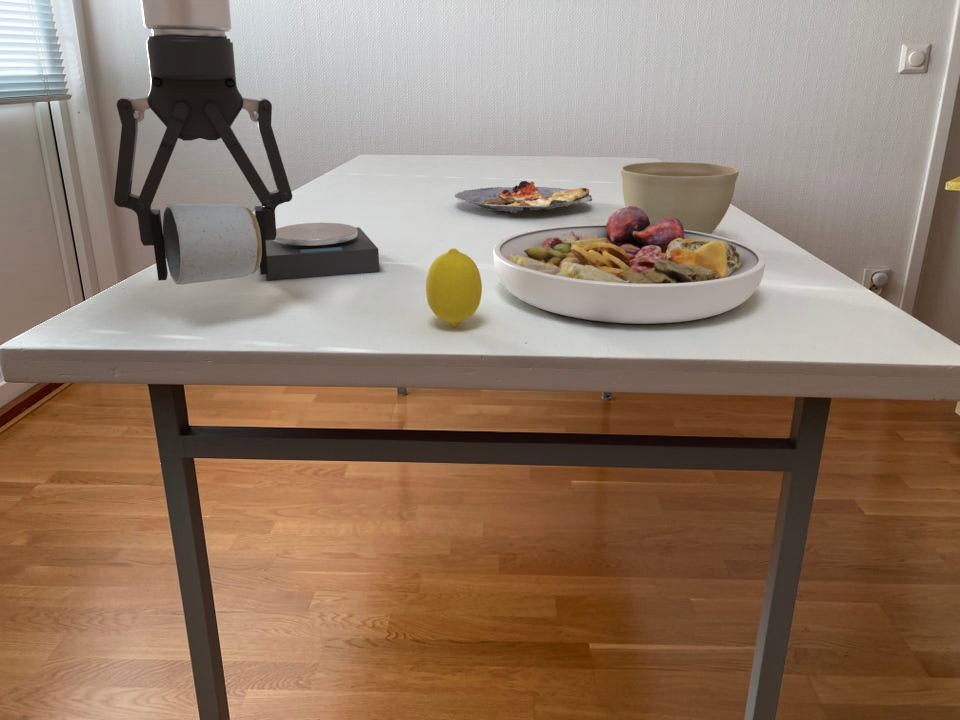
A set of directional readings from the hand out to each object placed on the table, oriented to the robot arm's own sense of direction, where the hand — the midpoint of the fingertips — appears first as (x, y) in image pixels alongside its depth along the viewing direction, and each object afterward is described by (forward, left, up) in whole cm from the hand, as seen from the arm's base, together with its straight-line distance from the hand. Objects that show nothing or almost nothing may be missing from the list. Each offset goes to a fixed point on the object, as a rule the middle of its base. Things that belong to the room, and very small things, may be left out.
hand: (214, 273), depth 79 cm
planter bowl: (+63, +17, -5) cm, 66 cm away
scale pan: (+12, +21, -1) cm, 24 cm away
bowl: (+44, -4, -5) cm, 45 cm away
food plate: (+53, +52, -5) cm, 75 cm away
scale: (+12, +21, -5) cm, 25 cm away
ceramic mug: (-1, 0, 0) cm, 1 cm away
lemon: (+22, -10, -5) cm, 25 cm away
